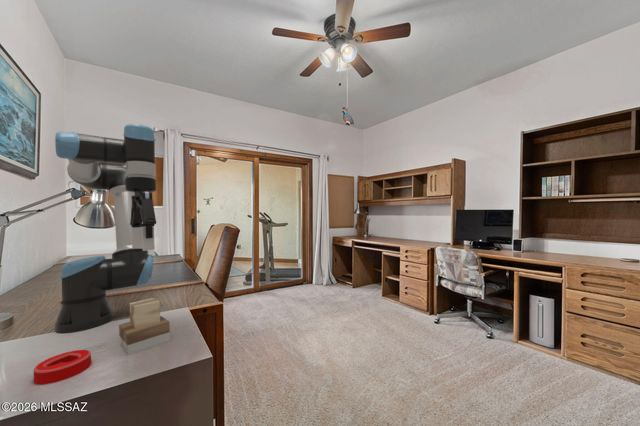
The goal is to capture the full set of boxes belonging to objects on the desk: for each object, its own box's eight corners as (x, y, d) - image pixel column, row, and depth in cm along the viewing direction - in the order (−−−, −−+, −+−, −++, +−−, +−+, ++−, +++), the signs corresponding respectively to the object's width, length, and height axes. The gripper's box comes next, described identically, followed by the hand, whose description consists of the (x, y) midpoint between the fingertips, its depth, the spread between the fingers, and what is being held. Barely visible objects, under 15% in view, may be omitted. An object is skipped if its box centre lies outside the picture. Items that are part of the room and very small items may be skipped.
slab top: (119, 335, 74) (119, 324, 74) (158, 323, 82) (158, 314, 82) (127, 345, 68) (127, 333, 68) (169, 331, 75) (169, 321, 75)
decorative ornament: (87, 357, 68) (87, 345, 68) (94, 369, 62) (94, 356, 62) (32, 375, 61) (32, 361, 61) (34, 391, 54) (34, 376, 54)
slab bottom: (121, 345, 75) (120, 334, 75) (160, 333, 82) (160, 323, 82) (128, 356, 68) (128, 345, 68) (170, 342, 75) (170, 331, 75)
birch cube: (130, 324, 75) (129, 303, 75) (154, 317, 79) (153, 297, 79) (135, 329, 71) (134, 307, 71) (160, 322, 75) (159, 301, 75)
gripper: (118, 182, 83) (119, 248, 83) (134, 169, 66) (136, 253, 65) (145, 184, 89) (147, 246, 88) (167, 172, 71) (169, 249, 71)
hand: (143, 249), depth 77 cm, fingers open, 13 cm apart
